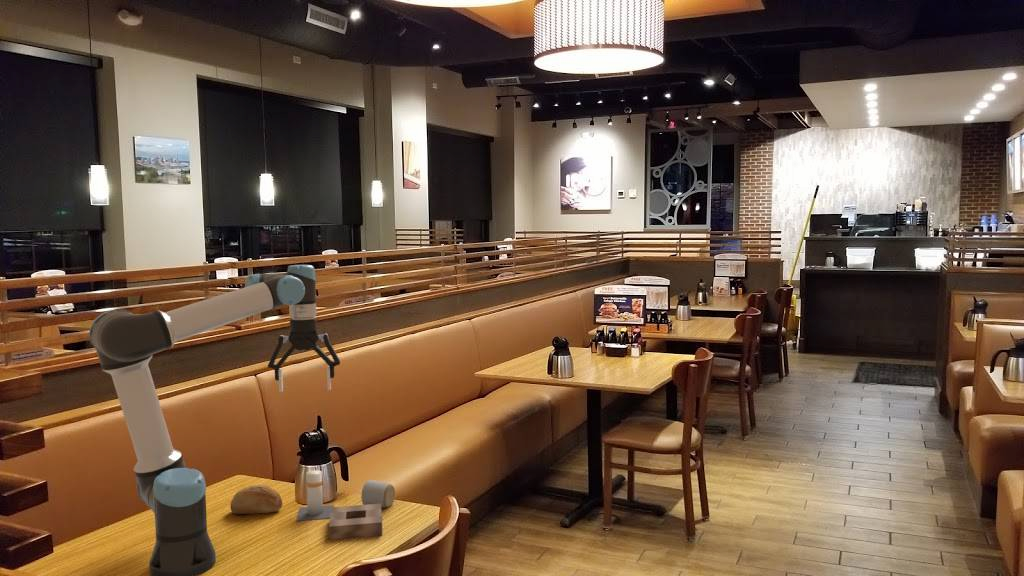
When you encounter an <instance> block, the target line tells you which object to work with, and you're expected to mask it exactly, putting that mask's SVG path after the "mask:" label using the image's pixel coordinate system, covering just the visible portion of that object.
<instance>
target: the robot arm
mask: <svg viewBox="0 0 1024 576" xmlns="http://www.w3.org/2000/svg"><path fill="white" fill-rule="evenodd" d="M316 281H317V279H316V271H315V267H314V265H312V264H311V265H310V264H294V265H293V264H292V265H291V264H290V265H288V266H287V271H286V272H277V273H276V272H275V273H273V272H271V273H270V272H269V273H255V274H254V273H252V274H249V275H247V277H246V278H245V281H244V287H241V288H238V289H236V290H233V291H229V292H226V293H223V294H220V295H216V296H213V297H209V298H207V299H204V300H201V301H197V302H194V303H191V304H188V305H183V306H181V307H178V308H175V309H172V310H169V311H166V312H165V311H161V310H159V309H158V310H154V311H151V312H147V313H140V314H139V313H138V314H134V313H132V312H130V311H128V310H125V309H116V310H115V309H114V310H108V311H105V312H103V313H102V314H100V315H98V316H97V317H96V318H95V319H93V322H92V323H91V325H90V329H89V335H88V337H89V341H90V345H91V346H92V347H93V349H95V351H96V355H97V358H98V360H99V363H100V367H101V370H102V371H103V372H105V373H107V374H109V375H110V376H111V378H112V382H113V385H114V388H115V392H116V395H117V397H118V401H119V405H120V408H121V411H122V414H123V417H124V421H125V424H126V426H127V429H128V432H129V436H130V439H131V442H132V443H131V444H132V446H133V449H134V452H135V455H136V459H137V462H136V464H135V465H134V467H133V472H134V475H135V477H136V489H137V493H138V495H139V497H140V499H141V501H142V502H143V503H144V504H145V505H147V507H148V508H150V510H151V511H152V512H153V514H154V525H155V528H154V529H155V542H154V547H153V549H152V554H151V557H150V560H149V567H148V568H149V574H150V575H149V576H197V575H198V576H199V575H200V574H203V573H205V572H206V571H208V570H210V569H211V568H213V567H214V565H215V564H216V562H217V561H216V559H217V558H216V557H217V556H216V555H217V554H216V550H215V547H214V545H213V542H212V540H211V537H210V535H209V533H208V525H207V523H208V522H207V521H208V520H207V497H206V496H207V495H206V493H207V491H206V490H207V486H206V484H207V483H206V481H205V476H204V474H203V473H202V472H201V471H199V470H198V469H195V468H189V467H186V463H185V460H184V457H183V455H182V452H181V451H179V450H177V449H175V448H174V447H173V444H172V440H171V436H170V433H169V429H168V427H167V423H166V420H165V416H164V413H163V410H162V409H163V408H162V406H161V403H160V400H159V397H158V393H157V390H156V387H155V383H154V379H153V376H152V373H151V371H150V370H151V369H150V367H149V363H150V361H151V359H152V358H153V355H155V354H157V353H160V352H163V351H164V350H168V349H171V348H173V347H174V345H175V343H177V342H178V341H182V340H185V339H188V338H190V337H193V336H196V335H199V334H203V333H205V332H208V331H211V330H214V329H216V328H220V327H222V326H223V327H224V326H225V325H228V324H232V323H234V322H237V321H241V320H243V319H247V318H249V317H251V316H252V317H253V316H254V315H257V314H261V313H264V312H266V311H269V310H273V309H275V308H276V309H277V308H279V307H282V306H285V305H286V306H288V307H289V310H288V311H289V316H288V317H289V318H291V319H289V335H284V334H280V335H279V337H278V342H277V344H276V345H277V346H276V348H275V349H274V351H273V353H272V356H271V358H270V360H269V362H268V364H267V367H268V368H269V369H273V370H274V381H278V393H283V392H284V381H283V379H284V377H283V376H284V375H283V368H282V367H281V366H282V365H283V364H284V363H285V362H286V361H287V359H288V358H289V357H290V356H291V355H292V353H293V352H294V351H295V350H297V351H310V350H312V351H314V352H315V353H316V354H317V355H318V356H319V357H320V358H321V359H322V360H323V361H324V362H325V364H327V367H326V373H327V374H326V377H327V378H326V379H327V383H326V384H327V391H330V390H332V387H331V385H332V384H331V379H334V378H335V367H336V366H339V365H341V360H340V358H339V356H338V354H337V352H336V350H335V348H334V347H333V345H332V344H331V342H330V339H329V334H328V333H322V334H318V331H317V330H318V324H317V323H318V322H317V319H316V316H317V301H316V300H317V296H316V288H317V287H316ZM318 340H320V341H321V342H323V343H324V345H325V347H326V349H327V351H328V352H329V354H330V355H331V358H332V359H333V361H332V359H331V358H330V357H329V356H328V355H327V354H326V353H325V352H324V351H323V350H322V349H321V347H320V346H319V345H318V344H317V342H318ZM287 341H289V343H290V344H291V346H290V347H289V348H288V349H287V351H286V352H285V353H284V354H283V356H282V357H281V358H280V360H278V362H277V363H275V362H276V360H277V358H278V355H279V354H280V352H281V349H282V348H283V345H284V344H285V343H287ZM280 367H281V368H280Z"/></svg>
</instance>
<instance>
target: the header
mask: <svg viewBox="0 0 1024 576" xmlns="http://www.w3.org/2000/svg"><path fill="white" fill-rule="evenodd" d="M383 533H384V531H383V515H382V508H381V504H368V505H363V504H354V505H343V506H334V507H332V508H331V515H330V519H329V524H328V541H334V540H335V541H336V540H337V541H338V540H349V539H359V538H360V539H362V538H373V537H382V536H383V535H384V534H383Z"/></svg>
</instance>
